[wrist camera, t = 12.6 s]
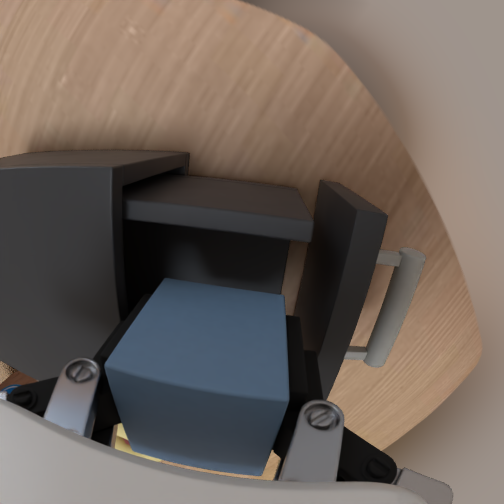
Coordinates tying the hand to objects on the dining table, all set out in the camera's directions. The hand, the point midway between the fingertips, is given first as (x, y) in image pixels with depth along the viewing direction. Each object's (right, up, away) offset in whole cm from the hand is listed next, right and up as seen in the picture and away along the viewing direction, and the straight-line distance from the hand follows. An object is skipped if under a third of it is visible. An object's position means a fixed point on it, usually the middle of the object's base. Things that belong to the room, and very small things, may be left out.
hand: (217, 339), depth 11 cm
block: (0, 0, 0) cm, 0 cm away
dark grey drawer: (+1, +3, +8) cm, 8 cm away
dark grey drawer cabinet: (-10, +5, +9) cm, 14 cm away
